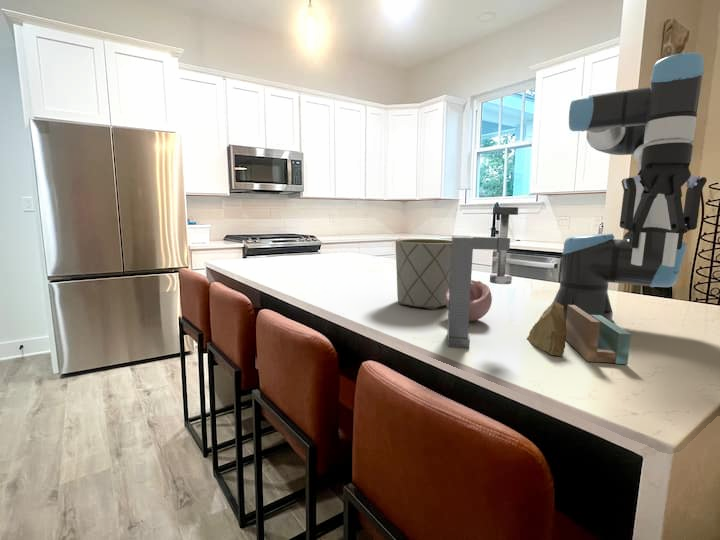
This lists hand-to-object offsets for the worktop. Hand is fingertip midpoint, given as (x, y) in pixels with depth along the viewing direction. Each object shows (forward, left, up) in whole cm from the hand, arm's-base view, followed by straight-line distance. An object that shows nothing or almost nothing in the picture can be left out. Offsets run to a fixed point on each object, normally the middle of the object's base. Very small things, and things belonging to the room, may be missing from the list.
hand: (652, 265), depth 76 cm
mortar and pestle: (+34, -18, -19) cm, 42 cm away
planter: (+46, -35, -19) cm, 60 cm away
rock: (+18, 0, -19) cm, 27 cm away
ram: (+29, 0, -5) cm, 29 cm away
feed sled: (+9, 0, -19) cm, 21 cm away
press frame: (+33, 0, -19) cm, 38 cm away
